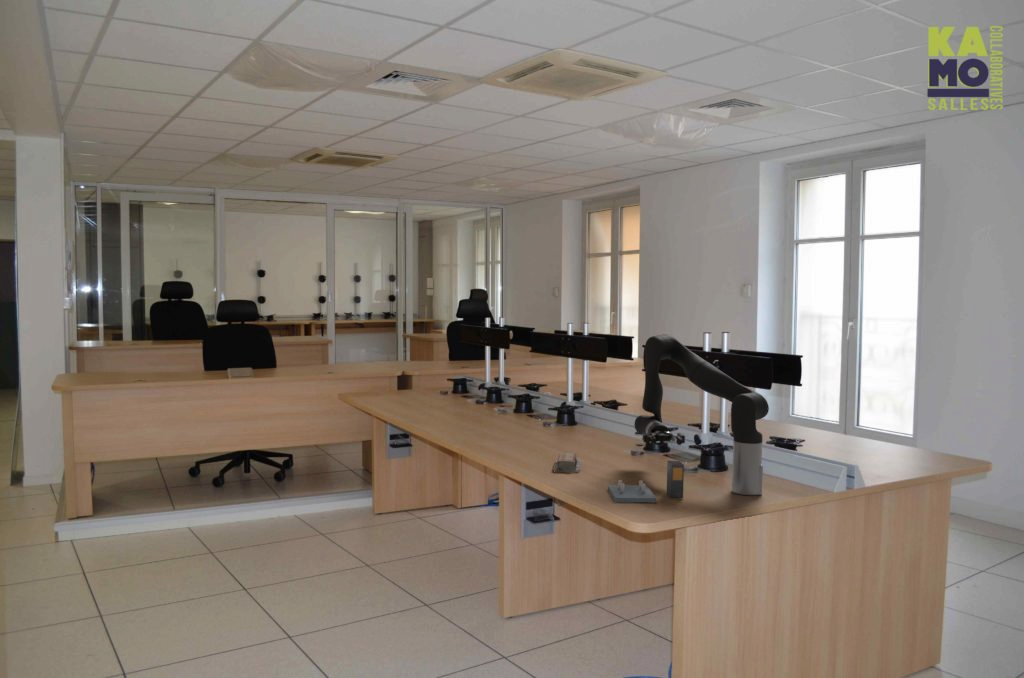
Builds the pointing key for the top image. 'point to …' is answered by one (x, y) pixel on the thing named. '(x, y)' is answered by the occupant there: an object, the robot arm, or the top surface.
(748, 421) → the robot arm
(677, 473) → the block
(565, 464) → the packaged product
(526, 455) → the top surface
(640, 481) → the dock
